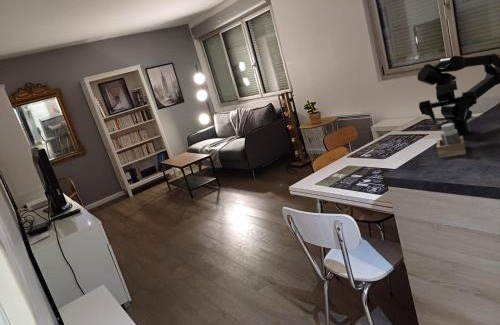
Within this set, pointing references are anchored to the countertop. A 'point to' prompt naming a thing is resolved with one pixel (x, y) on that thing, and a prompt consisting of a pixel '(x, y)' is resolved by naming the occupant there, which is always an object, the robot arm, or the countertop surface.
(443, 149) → the birch socket stand
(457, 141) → the pill bottle
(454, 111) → the robot arm
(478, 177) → the countertop surface
